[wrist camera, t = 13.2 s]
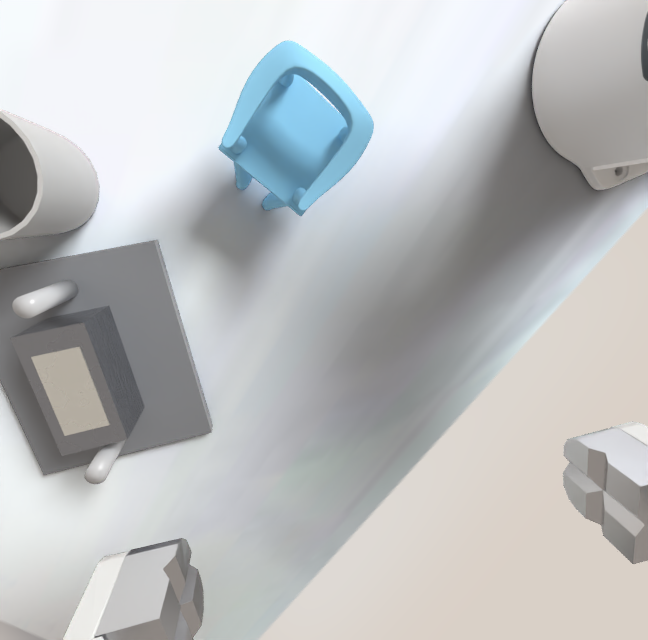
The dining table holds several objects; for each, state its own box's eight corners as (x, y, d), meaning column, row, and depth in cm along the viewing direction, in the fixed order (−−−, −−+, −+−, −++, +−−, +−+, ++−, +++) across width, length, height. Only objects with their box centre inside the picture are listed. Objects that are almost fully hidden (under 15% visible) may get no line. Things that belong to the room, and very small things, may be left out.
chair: (210, 166, 30) (187, 140, 19) (275, 75, 29) (291, -9, 18) (289, 229, 33) (311, 239, 21) (351, 147, 32) (408, 112, 20)
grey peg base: (157, 239, 31) (132, 247, 24) (212, 425, 36) (204, 475, 29) (-36, 275, 29) (-123, 294, 22) (50, 466, 34) (1, 529, 27)
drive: (109, 305, 30) (83, 322, 25) (144, 407, 33) (127, 440, 28) (47, 318, 30) (9, 338, 25) (89, 420, 32) (61, 456, 27)
